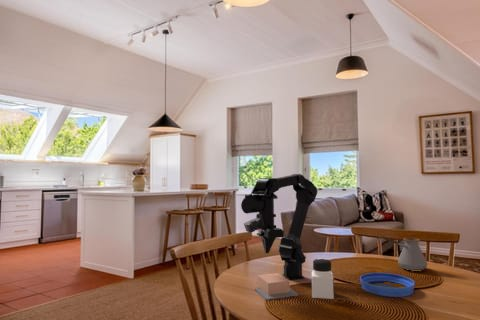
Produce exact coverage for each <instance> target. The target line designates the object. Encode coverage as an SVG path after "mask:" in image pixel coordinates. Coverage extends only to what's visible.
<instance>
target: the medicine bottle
mask: <svg viewBox="0 0 480 320" xmlns="http://www.w3.org/2000/svg"><path fill="white" fill-rule="evenodd" d="M334 281H335V278H334V273H333V272H332V262H331V260H330V259H327V258H316V259H313V261H312V271H311V297H312V298H313V299H326V300H334V299H335V282H334Z"/></svg>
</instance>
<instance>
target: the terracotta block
mask: <svg viewBox="0 0 480 320" xmlns="http://www.w3.org/2000/svg"><path fill="white" fill-rule="evenodd" d="M257 287H258V288H261V289H262V290H263V291H264V292H265V293H266V294H267V295H273V294H281V293H289V292H290V289H291V288H290V279H288V278H286V277H285V276H283V275H281V274H280V273H279V272H276V273H275V272H274V273H265V274H258V275H257Z"/></svg>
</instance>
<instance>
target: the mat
mask: <svg viewBox="0 0 480 320" xmlns="http://www.w3.org/2000/svg"><path fill="white" fill-rule="evenodd" d="M254 290H255V292H257V293H258V295H260V296H261V297H262V298H263V299H264V300H266V301H271V300H277V299H278V298H279V299H285V297H286V298H291V297H292V296H294V297H299V296H300V294H299V293H298V292H296V291H294V290H293V289H292V288H290V292H289V293H281V294H273V295H267V294H266V293H265V292H264V291H263V290H262V289H261V288H259V287H258V288H257V287H255V288H254ZM290 296H291V297H290ZM270 299H271V300H270Z"/></svg>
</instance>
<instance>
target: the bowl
mask: <svg viewBox="0 0 480 320" xmlns="http://www.w3.org/2000/svg"><path fill="white" fill-rule="evenodd" d="M359 281H360V284H361V288H362V289H363V291H366V292H367V293H369V294H373V295H377V296H382V297H387V296H388V297H390V298H403V297H408V296H411V295H412V294H413V293H414V289H415V285H416V284H415V281H414V280H413V279H411V278H410V277H407V276H404V275H400V274H397V273H396V274H395V273H389V272H369V273H364V274H362V275H360V277H359ZM382 282H383V283H382ZM384 282H391V283H397V284H401V285H404V286H406V287H402V288H399V287H396V286H392V285H391V284H384Z"/></svg>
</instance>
